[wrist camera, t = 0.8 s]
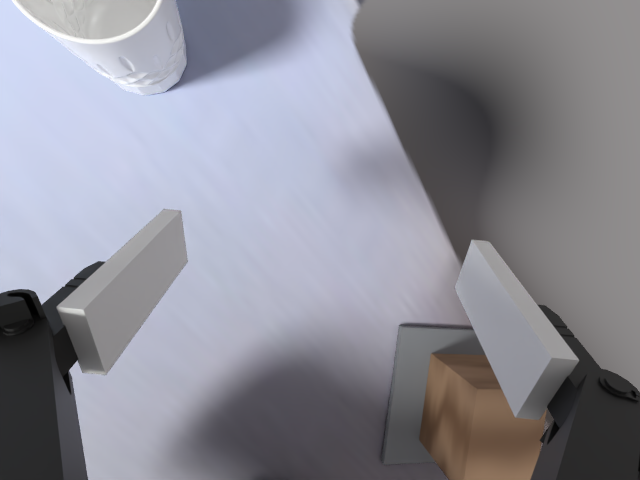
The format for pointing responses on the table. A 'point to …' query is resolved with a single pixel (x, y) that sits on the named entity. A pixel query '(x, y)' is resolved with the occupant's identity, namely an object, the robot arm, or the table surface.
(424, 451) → the rubber mat
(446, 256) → the table surface
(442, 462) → the walnut block
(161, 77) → the white cup
